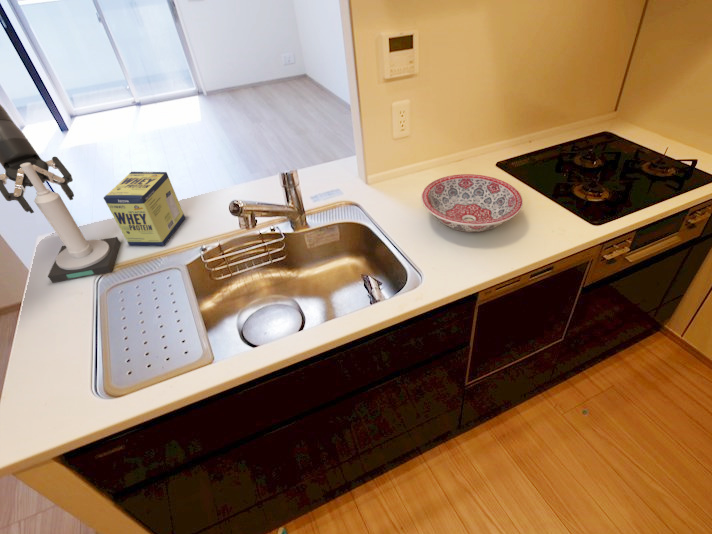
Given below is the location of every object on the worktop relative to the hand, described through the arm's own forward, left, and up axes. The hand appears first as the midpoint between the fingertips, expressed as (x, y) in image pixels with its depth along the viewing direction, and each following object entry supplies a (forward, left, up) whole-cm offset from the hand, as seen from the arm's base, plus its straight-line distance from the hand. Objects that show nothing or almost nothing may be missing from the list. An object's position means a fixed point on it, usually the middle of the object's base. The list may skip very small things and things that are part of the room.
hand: (52, 205), depth 103 cm
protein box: (+16, +11, -18) cm, 27 cm away
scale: (-1, +1, -18) cm, 18 cm away
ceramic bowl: (+106, -13, -18) cm, 109 cm away
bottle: (-1, +1, -15) cm, 15 cm away
